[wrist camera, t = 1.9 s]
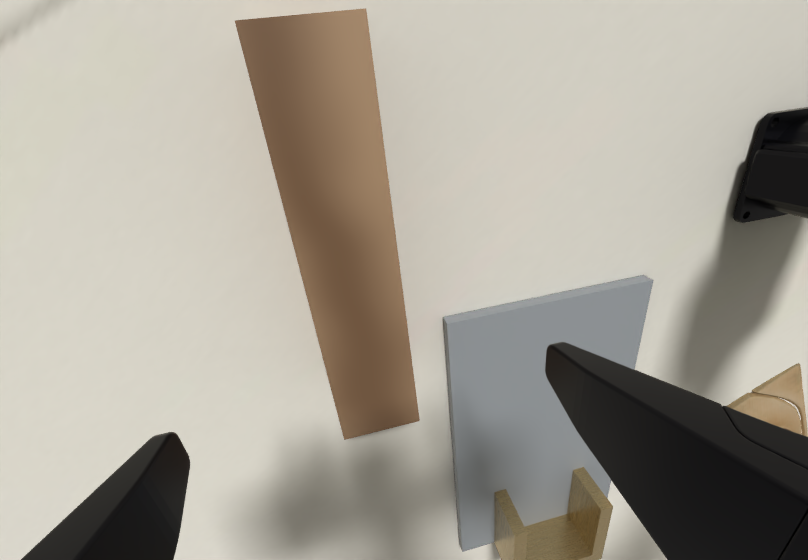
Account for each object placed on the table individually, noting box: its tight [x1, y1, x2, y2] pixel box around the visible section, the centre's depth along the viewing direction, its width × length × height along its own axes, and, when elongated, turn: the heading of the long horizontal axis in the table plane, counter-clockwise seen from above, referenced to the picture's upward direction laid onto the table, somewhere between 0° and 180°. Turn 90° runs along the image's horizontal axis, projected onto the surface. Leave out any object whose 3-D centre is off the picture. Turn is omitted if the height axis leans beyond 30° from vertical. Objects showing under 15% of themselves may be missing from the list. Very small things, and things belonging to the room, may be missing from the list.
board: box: [727, 363, 808, 437], centre depth 38 cm, size 25×15×3 cm, turn 35°
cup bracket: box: [494, 467, 613, 560], centre depth 31 cm, size 8×7×4 cm
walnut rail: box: [235, 9, 419, 440], centre depth 18 cm, size 4×18×5 cm, turn 6°
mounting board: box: [443, 275, 653, 552], centre depth 29 cm, size 14×24×1 cm, turn 6°
